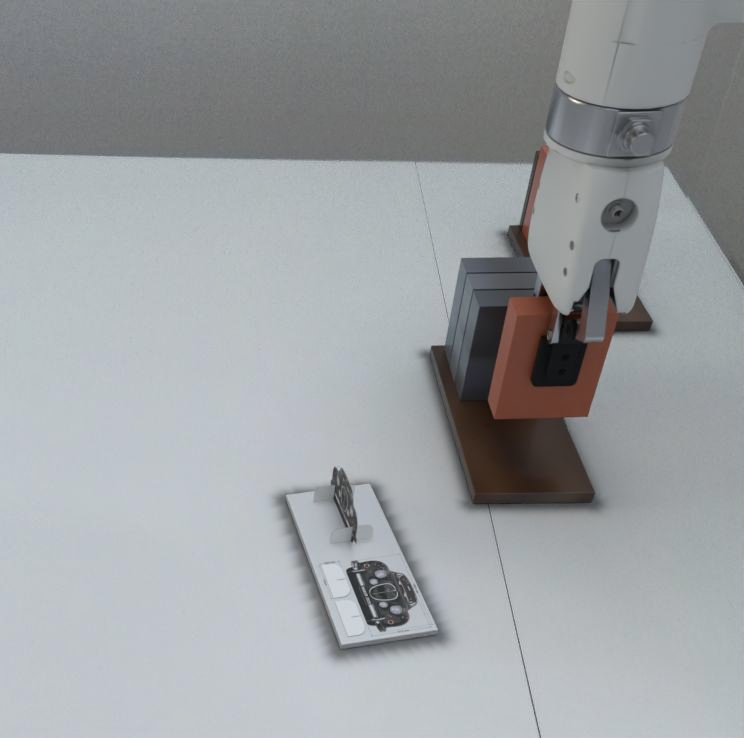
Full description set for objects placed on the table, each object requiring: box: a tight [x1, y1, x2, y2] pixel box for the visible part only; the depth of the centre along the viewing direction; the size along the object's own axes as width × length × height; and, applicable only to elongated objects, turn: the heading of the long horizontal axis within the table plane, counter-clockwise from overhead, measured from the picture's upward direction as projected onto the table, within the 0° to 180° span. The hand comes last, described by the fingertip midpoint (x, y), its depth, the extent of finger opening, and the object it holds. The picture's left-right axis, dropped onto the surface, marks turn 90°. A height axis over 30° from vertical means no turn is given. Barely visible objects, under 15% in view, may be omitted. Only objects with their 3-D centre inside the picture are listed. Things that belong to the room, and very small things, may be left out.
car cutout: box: [285, 466, 439, 650], centre depth 68 cm, size 15×7×4 cm, turn 11°
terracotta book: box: [488, 296, 619, 419], centre depth 71 cm, size 7×2×9 cm, turn 90°
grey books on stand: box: [429, 256, 596, 504], centre depth 78 cm, size 9×20×10 cm, turn 0°
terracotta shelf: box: [507, 145, 654, 332], centre depth 94 cm, size 9×19×10 cm, turn 0°
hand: (547, 369), depth 72 cm, fingers closed on terracotta book, 2 cm apart
